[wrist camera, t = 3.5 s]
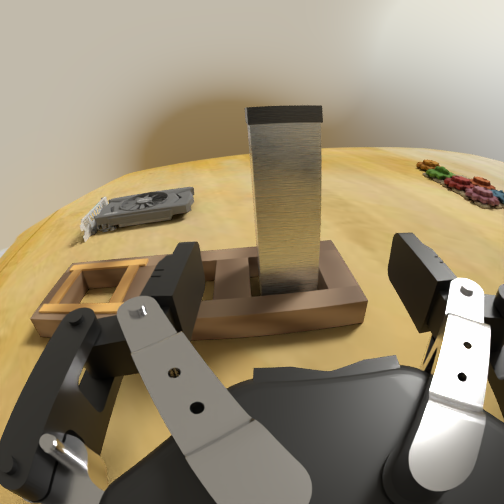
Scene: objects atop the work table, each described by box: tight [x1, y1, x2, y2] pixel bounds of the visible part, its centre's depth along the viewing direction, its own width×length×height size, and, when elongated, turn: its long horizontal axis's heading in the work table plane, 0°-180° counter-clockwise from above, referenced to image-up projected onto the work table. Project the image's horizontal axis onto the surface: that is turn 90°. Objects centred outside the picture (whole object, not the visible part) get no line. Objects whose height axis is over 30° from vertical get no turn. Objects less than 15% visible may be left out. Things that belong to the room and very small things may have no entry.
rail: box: [30, 240, 368, 340], centre depth 22 cm, size 26×9×2 cm, turn 93°
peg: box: [245, 106, 323, 296], centre depth 19 cm, size 4×4×14 cm
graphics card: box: [80, 187, 194, 242], centre depth 40 cm, size 17×4×12 cm
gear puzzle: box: [416, 160, 504, 209], centre depth 49 cm, size 31×16×4 cm, turn 2°
